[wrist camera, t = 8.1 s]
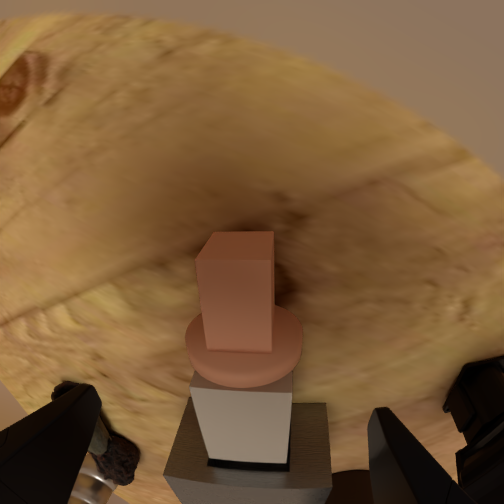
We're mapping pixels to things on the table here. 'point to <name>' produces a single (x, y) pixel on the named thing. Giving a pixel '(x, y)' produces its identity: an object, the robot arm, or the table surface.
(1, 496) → the robot arm
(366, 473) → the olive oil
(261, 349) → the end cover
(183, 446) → the housing
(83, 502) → the plastic bottle
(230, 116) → the table surface
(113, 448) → the metal pipe
